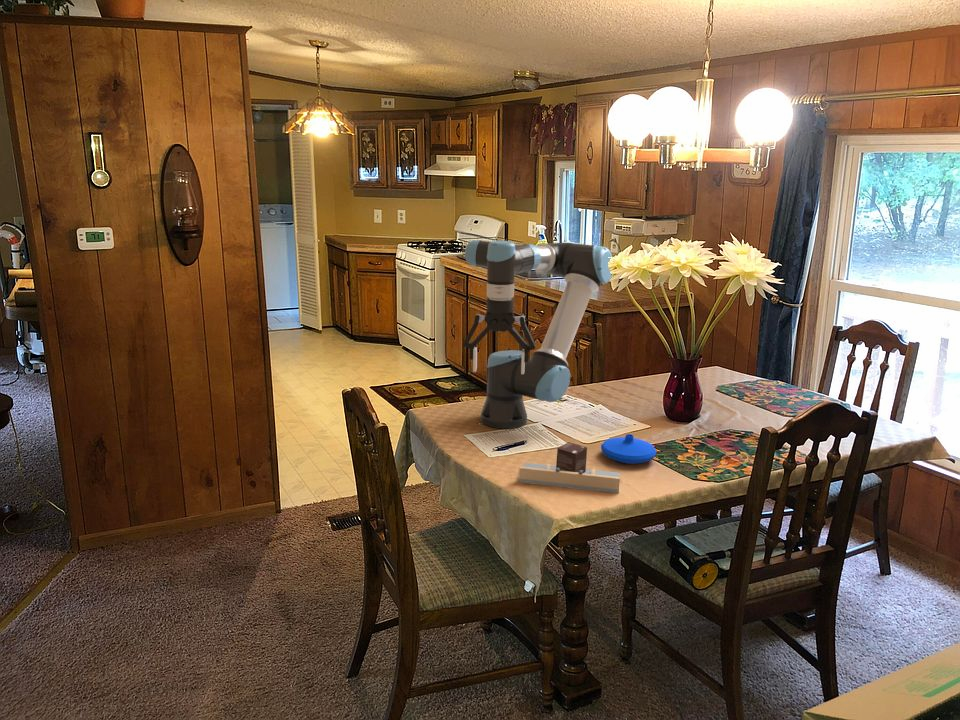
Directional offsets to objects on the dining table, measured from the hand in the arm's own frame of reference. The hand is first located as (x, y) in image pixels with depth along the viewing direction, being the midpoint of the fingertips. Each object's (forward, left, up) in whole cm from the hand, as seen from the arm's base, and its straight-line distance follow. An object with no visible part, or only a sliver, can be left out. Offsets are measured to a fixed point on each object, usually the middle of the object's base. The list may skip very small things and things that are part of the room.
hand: (498, 371), depth 212 cm
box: (+12, +23, -23) cm, 35 cm away
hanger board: (+14, +23, -24) cm, 36 cm away
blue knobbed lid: (-5, +38, -24) cm, 45 cm away
